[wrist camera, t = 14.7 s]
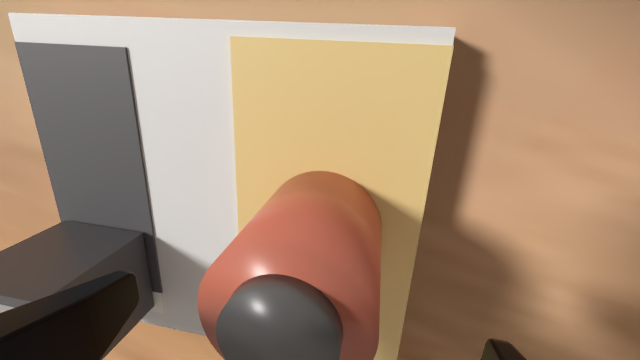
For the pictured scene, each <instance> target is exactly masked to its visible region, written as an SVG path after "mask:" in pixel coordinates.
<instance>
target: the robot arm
mask: <svg viewBox="0 0 640 360" xmlns="http://www.w3.org/2000/svg"><path fill="white" fill-rule="evenodd" d="M139 300H140V294H139V288H138V283H137V277H136V275H135V274H134V273H133V272H129V271H124V270H118V271H115V272H112V273H109V274H107V275H104V276H101V277H98V278H96V279H93V280H90V281H87V282H84V283H82V284H79V285H76V286H73V287H71V288H68V289H65V290H62V291H60V292H57V293H54V294H51V295H49V296H46V297H43V298H40V299H38V300H35V301H32V302H29V303H26V304H24V305H21V306H18V307H15V308H13V309H10V310H7V311H4V312H2V313H0V360H100V359H101V358H102V357H103V355H104V354H105V352H106V351H107V350H108V348H109V347H110V345H111V344H112V342H113V341H114V339H115V338H116V336H117V335H118V334H119V332H120V331H121V329H122V328H123V326H124V325H125V323H126V322H127V320H128V319H129V317H130V316H131V314H132V313H133V312H134V310H135V309H136V307H137V305H138V303H139ZM481 360H527V359H526V358H525V357H524V356H523V355H522V354H521V353H520V352H519V351H518V350H517V349H516V348H515V347H514V346H513V345H512V344H510V343H509V342H507V341H503V340H497V339H488V340H487V342H486V345H485V348H484V351H483V354H482V358H481Z"/></svg>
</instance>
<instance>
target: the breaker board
mask: <svg viewBox="0 0 640 360" xmlns="http://www.w3.org/2000/svg"><path fill="white" fill-rule="evenodd" d="M8 16H9V20H10V24H11V27H12V31H13V35H14V39H15V46H16V49H17V53H18V57H19V61H20V65H21V69H22V73H23V76H24V80H25V84H26V88H27V92H28V96H29V100H30V103H31V107H32V111H33V115H34V119H35V123H36V127H37V131H38V134H39V138H40V142H41V146H42V150H43V154H44V158H45V161H46V165H47V169H48V173H49V177H50V181H51V185H52V188H53V192H54V196H55V200H56V204H57V208H58V212H59V216H60V219H61V222H63V221H65V220H66V221H73V222H79V223H85V224H92V225H98V226H104V227H110V228H117V229H123V230H129V231H136V232H142V233H143V237H144V243H145V249H146V256H147V262H148V268H149V274H150V280H151V287H152V293H153V299H154V305H155V306H154V307H153V308H152V309H151V310H150V311H149V312H148V313H147V314H146V315H145V316H144V317H143V318H142V319H141V320H140V321H139V322H144V323H149V324H153V325H158V326H163V327H167V328H172V329H177V330H182V331H186V332H191V333H196V334H201V335H205V336H206V334H205V331H204V329H203V327H202V324H201V321H200V318H199V313H198V301H197V298H198V290H199V287H200V283H201V280H202V278H203V276H204V274H205V272H206V271H207V270H208V268H209V267H210V266H211V264H212V263H213V262H214V261H215V260H216V259H217V258H218V257H219V255H220V254H221V253H222V252H223V251H224V250H225V249H226V247H227V246H228V245H229V244H230V243H231V242H232V241H233V240H234V238H235V237H236V236H237V235H238V234H239V233H240V232H241V230H242V229H243V228H244V227H245V226H246V225H247V224H248V223H249V221H250V220H251V219H252V218H253V217H254V216H255V215H256V213H257V212H258V211H259V210H260V209H261V208H262V207H263V206H264V204H265V203H266V202H267V201H268V200H269V199H270V198H271V196H272V195H273V194H274V193H275V192H276V191H277V190H278V189H279V187H280V186H281V185H283V184H284V183H285V182H286V181H288V180H289V179H291V178H292V177H294V176H296V175H299V174H302V173H305V172H310V171H328V172H334V173H337V174H341V175H343V176H345V177H348V178H350V179H351V180H353V181H355V182H356V183H358V184H359V185H360V186H361V187H363V188H364V189H365V190H366V191H367V192H368V193H369V195H370V196H371V197H372V199H373V200H374V202H375V204H376V206H377V208H378V210H379V213H380V217H381V223H382V242H381V282H380V323H379V344H378V348H377V352H376V355H375V357H374V359H373V360H397V357H398V352H399V346H400V341H401V335H402V330H403V324H404V318H405V313H406V307H407V302H408V296H409V291H410V285H411V280H412V274H413V269H414V263H415V258H416V252H417V247H418V241H419V236H420V230H421V225H422V219H423V214H424V208H425V203H426V197H427V192H428V186H429V181H430V175H431V170H432V164H433V158H434V153H435V147H436V142H437V136H438V131H439V125H440V120H441V114H442V109H443V103H444V98H445V92H446V87H447V81H448V76H449V70H450V65H451V59H452V54H453V48H454V46H453V41H454V36H455V30H456V27H429V26H398V25H368V24H337V23H307V22H276V21H246V20H215V19H185V18H154V17H123V16H93V15H62V14H32V13H8Z"/></svg>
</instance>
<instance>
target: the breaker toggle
mask: <svg viewBox="0 0 640 360" xmlns="http://www.w3.org/2000/svg"><path fill="white" fill-rule="evenodd" d="M118 270H124V271H129V272H133V273H134V274H135V275H136V277H137V283H138V288H139V294H140V300H139V303H138V305H137V307H136V309H135V310H134V312H133V313H132V314H131V316H130V317H129V319H128V320H127V322H126V323H125V325H124V326H123V328H122V329H121V331H120V332H119V334H118V335H117V336H116V338H115V339H114V341H113V342H112V344H111V345H110V347H109V348H108V350H107V351H106V352H105V354H104V355H103V357H102V358H101V359H100V360H102V359H103V358H104V357H105V356H106V355H107V354H108V353H109V352H110V351H111V350H112V349H113V348H114V347H115V346H116V345H117V344H118V343H119V342H120V341H121V340H122V339H123V338H124V337H125V336H126V335H127V334H128V333H129V331H130V330H131V329H132V328H133V327H134V326H135V325H136V324H137V323H138V322H139V321H140V320H141V319H142V318H143V317H144V316H145V315H146V314H147V313H148V312H149V311H150V310H151V309H152V308H153V307H154V306H155V305H154V299H153V293H152V287H151V280H150V274H149V268H148V262H147V256H146V249H145V243H144V237H143V233H142V232H136V231H129V230H123V229H117V228H110V227H104V226H98V225H92V224H85V223H79V222H73V221H66V220H65V221H63V222H61V223H59V224H57V225H55V226H53V227H51V228H48V229H46V230H44V231H42V232H40V233H38V234H36V235H34V236H32V237H30V238H28V239H25V240H23V241H21V242H19V243H17V244H15V245H13V246H11V247H9V248H7V249H5V250H2V251H0V313H2V312H4V311H7V310H10V309H13V308H15V307H18V306H21V305H24V304H26V303H29V302H32V301H35V300H38V299H40V298H43V297H46V296H49V295H51V294H54V293H57V292H60V291H62V290H65V289H68V288H71V287H73V286H76V285H79V284H82V283H84V282H87V281H90V280H93V279H96V278H98V277H101V276H104V275H107V274H109V273H112V272H115V271H118Z"/></svg>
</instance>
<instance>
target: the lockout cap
mask: <svg viewBox="0 0 640 360" xmlns="http://www.w3.org/2000/svg"><path fill="white" fill-rule="evenodd" d="M381 242H382V223H381V217H380V213H379V210H378V208H377V206H376V204H375V202H374V200H373V199H372V197H371V196H370V195H369V193H368V192H367V191H366V190H365V189H364V188H363V187H361V186H360V185H359V184H358V183H356V182H355V181H353V180H351V179H350V178H348V177H345V176H343V175H341V174H337V173H334V172H328V171H310V172H305V173H302V174H299V175H296V176H294V177H292V178H291V179H289V180H288V181H286V182H285V183H284V184H283V185H281V186H280V187H279V189H278V190H277V191H276V192H275V193H274V194H273V195H272V196H271V198H270V199H269V200H268V201H267V202H266V203H265V204H264V206H263V207H262V208H261V209H260V210H259V211H258V212H257V213H256V215H255V216H254V217H253V218H252V219H251V220H250V221H249V223H248V224H247V225H246V226H245V227H244V228H243V229H242V230H241V232H240V233H239V234H238V235H237V236H236V237H235V238H234V240H233V241H232V242H231V243H230V244H229V245H228V246H227V247H226V249H225V250H224V251H223V252H222V253H221V254H220V255H219V257H218V258H217V259H216V260H215V261H214V262H213V263H212V264H211V266H210V267H209V268H208V270H207V271H206V272H205V274H204V276H203V278H202V280H201V283H200V287H199V290H198V298H197V301H198V313H199V318H200V321H201V324H202V327H203V329H204V331H205V334H206V336H207V337H208V339H209V341H210V342H211V344H212V345H213V347H214V348H215V349H216V350H217V352H218V353H219V354H220V355H221V356H222V357H223V358H224V359H225V360H373V359H374V357H375V355H376V352H377V348H378V344H379V323H380V282H381Z"/></svg>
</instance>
